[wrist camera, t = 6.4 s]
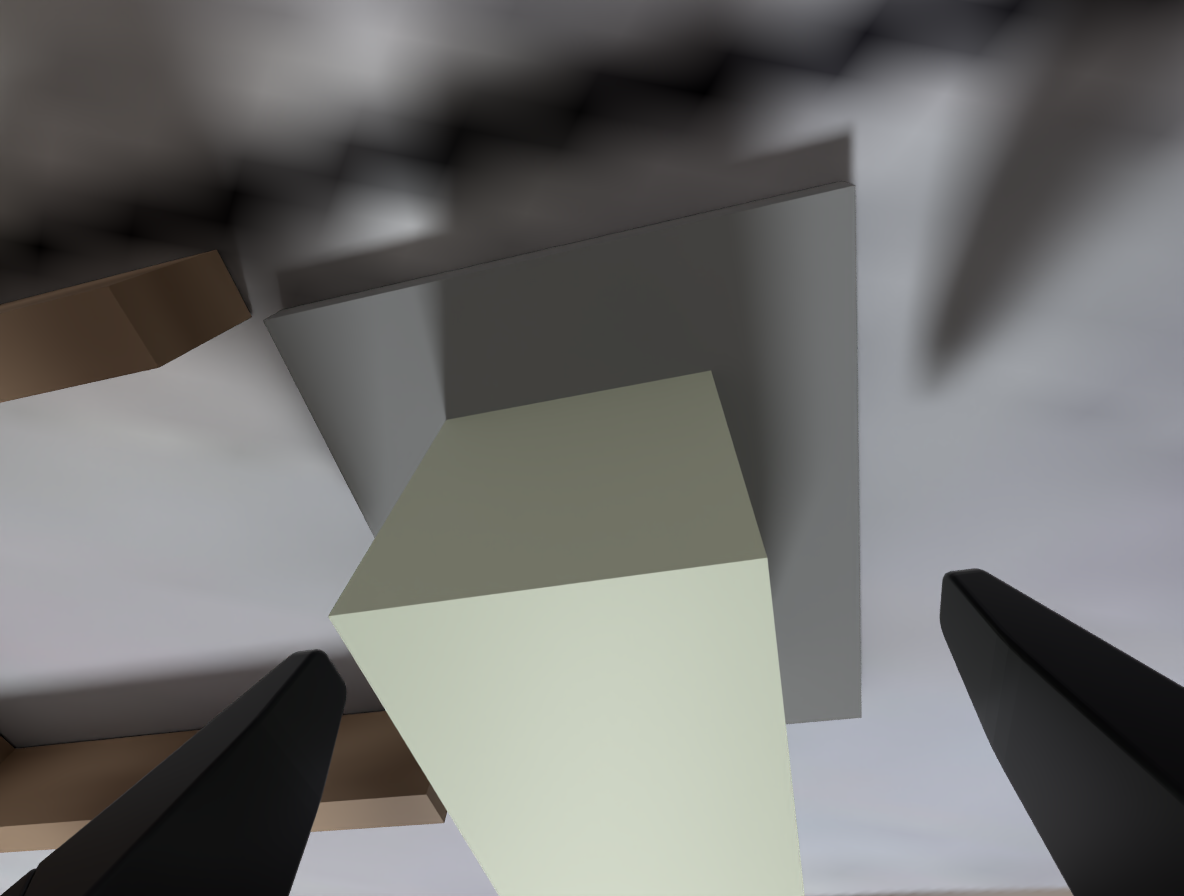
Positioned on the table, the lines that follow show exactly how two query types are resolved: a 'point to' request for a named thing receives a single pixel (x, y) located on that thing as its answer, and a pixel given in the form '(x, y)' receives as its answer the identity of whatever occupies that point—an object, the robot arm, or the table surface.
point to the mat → (637, 382)
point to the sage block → (587, 647)
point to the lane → (111, 767)
